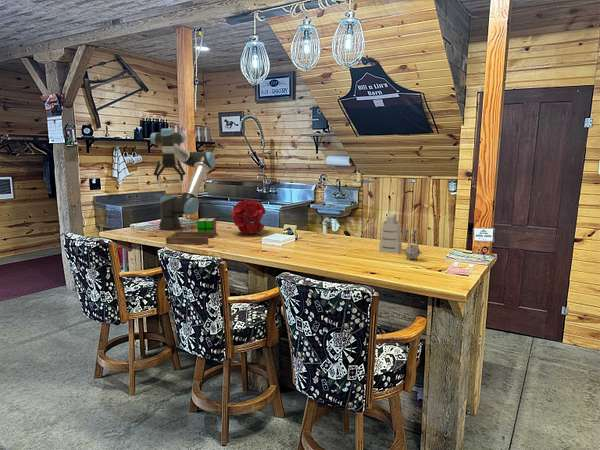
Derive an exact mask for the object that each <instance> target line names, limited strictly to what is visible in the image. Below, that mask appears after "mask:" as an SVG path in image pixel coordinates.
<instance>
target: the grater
mask: <svg viewBox="0 0 600 450" xmlns="http://www.w3.org/2000/svg"><path fill="white" fill-rule="evenodd" d="M401 235H402V234H401V223H400V221H397V214H396V213H388V214H386V220H385V221H384V222H382V227H381V234H380V240H379V248H378V252H379V253H385V252H387V254H396V253H398V254H399V253H401V251H403V244H402V236H401Z"/></svg>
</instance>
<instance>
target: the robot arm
mask: <svg viewBox="0 0 600 450" xmlns="http://www.w3.org/2000/svg"><path fill="white" fill-rule="evenodd" d="M185 138H186V137H185V135H184V133H182V132H178V131H174V129H173V128H161V130H160V132H157V131H156V132H152V133H151V134H150V137H149V140H150V142H151V144H153V145H159V146H160V147H161V151H162V161H161V160H157V165H156V167H155V169H154V172H153V176H155V177H156V181H157V182H158V187H162V179H161V178H162V176H161V174H162V172H163V171H164V170H165V169H167V168H168V169H169V168H172V169H173V170H175V172H177V173H178V177H179V179H178V182H179V187H182V186H183V181H184V176H185V175H186V174H187V173H186V171H185V170H184V167H183V165H182V164H184V165H186V166H188V167H190V168H194V170H193V173H192V174H191V177H190V179H189V182H188V184H187V186H186V189H185V191H184V192H182V193H181V196H180V197H178V195H176V194H174V195H173V194H172V195H167V196H162V197H160V199H159V205H160V221H159V226H158V229H159V230H161V231H174V230H175V231H176V230H180V229H182V223H181V220H180V217H179V215H187V216H188V215H189V216H190V215H194V214H196V213H197V212H198V210H199V207H200V202H199V198H198V196H199V195H198V194H199V193H200V192H199V191H200V190H201V187H202V184H203V182H204V179H205V177H206V174H207V173H209V172H210V170H211V169H213V168H215V166H216V158H215V155H214V153H213V152H212V151H190V150H188V149H184V148H182V147H181V146H180V144H183V143H184V142H185V140H186V139H185ZM176 158H177V159H178V160H175V159H176ZM181 163H182V164H181ZM162 164H163V165H162ZM175 164H176V165H175ZM161 165H162V167H161ZM177 166H178V167H177ZM160 167H161V168H160Z"/></svg>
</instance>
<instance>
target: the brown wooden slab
mask: <svg viewBox="0 0 600 450" xmlns="http://www.w3.org/2000/svg"><path fill="white" fill-rule="evenodd" d="M209 239H215V237H214V232H198V231H174V232H172V233H171V234H170V235H168V236H167V237H166V238H165V242H166V243H165V244H166V246H168V245H167V244H189V245H209Z"/></svg>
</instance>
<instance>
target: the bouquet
mask: <svg viewBox="0 0 600 450" xmlns="http://www.w3.org/2000/svg"><path fill="white" fill-rule="evenodd" d="M230 214H231V217H232V220H233V224H234V226H235V227H236V228H238V230H239V231H240V233H242V234H245V235H250V234H254V235H255V234H257V233H259V232H260V231H261V230H263V229H264V228H265V224H264V223H263V222H262V221H261V220H262V219H263V216H264V215H265V214H267V210H266V208H265V207H264V205H263V203H262V202H261V201H260V200H259V201H255V200H254V199H247V198H245V199H244V201H243V200H239V201H238V202H237V203H236V205H235V206H234V208H233V210H231V212H230Z"/></svg>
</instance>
